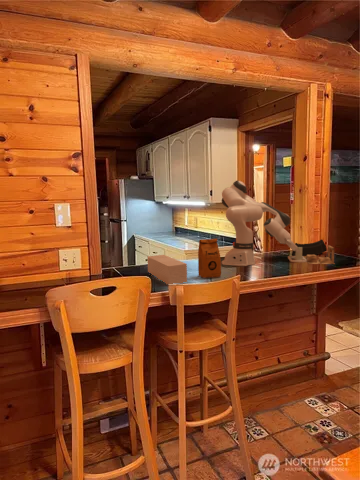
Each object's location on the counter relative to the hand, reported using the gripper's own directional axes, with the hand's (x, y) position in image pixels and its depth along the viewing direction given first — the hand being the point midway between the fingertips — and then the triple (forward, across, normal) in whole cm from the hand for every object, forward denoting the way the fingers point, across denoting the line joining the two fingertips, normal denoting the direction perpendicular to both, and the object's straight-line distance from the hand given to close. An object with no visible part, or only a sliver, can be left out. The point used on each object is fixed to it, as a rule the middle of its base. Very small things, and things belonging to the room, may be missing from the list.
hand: (298, 252), depth 220 cm
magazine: (+13, +23, -3) cm, 26 cm away
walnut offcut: (+9, -6, -1) cm, 11 cm away
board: (+4, 0, +4) cm, 6 cm away
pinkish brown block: (-52, -49, +62) cm, 95 cm away
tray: (+4, 0, +5) cm, 7 cm away
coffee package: (-35, -45, +45) cm, 72 cm away
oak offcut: (+7, -6, -3) cm, 10 cm away
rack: (+13, -6, -4) cm, 15 cm away
